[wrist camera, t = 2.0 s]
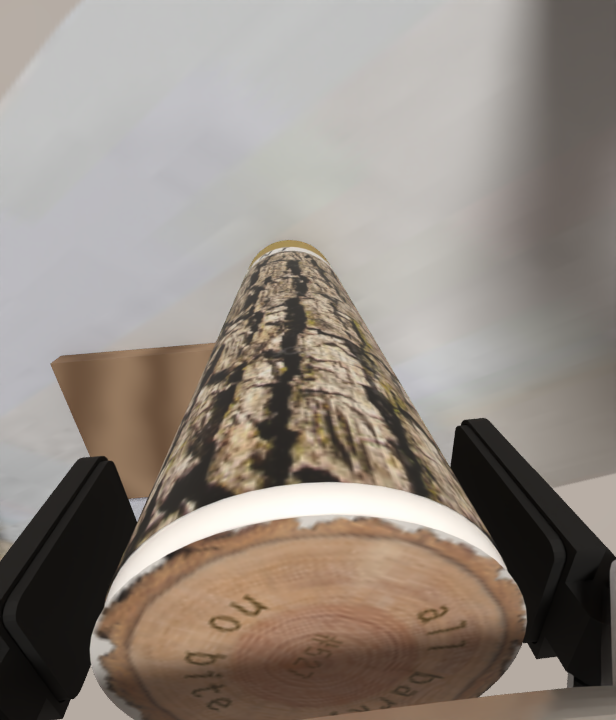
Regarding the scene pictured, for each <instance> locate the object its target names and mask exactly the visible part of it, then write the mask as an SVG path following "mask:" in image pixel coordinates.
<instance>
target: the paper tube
mask: <svg viewBox="0 0 616 720" xmlns="http://www.w3.org/2000/svg"><path fill="white" fill-rule="evenodd" d="M526 624H527V616H526V607H525V603H524V599H523V596H522V594H521V592H520V590H519V588H518V586H517V584H516V582H515V581H514V580H513V578H512V577H511V575H510V574H509V573H508V570H507V566H506V563H505V561H504V559H503V557H502V555H501V553H500V551H499V549H498V547H497V546H496V544H495V542H494V541H493V539H492V537H491V535H490V534H489V532H488V530H487V529H486V527H485V525H484V524H483V522H482V520H481V519H480V517H479V515H478V514H477V512H476V510H475V508H474V507H473V505H472V503H471V502H470V500H469V498H468V497H467V495H466V493H465V492H464V490H463V488H462V487H461V485H460V483H459V481H458V480H457V478H456V476H455V475H454V473H453V471H452V470H451V468H450V466H449V465H448V463H447V461H446V460H445V458H444V456H443V454H442V453H441V451H440V449H439V448H438V446H437V444H436V443H435V441H434V439H433V438H432V436H431V434H430V433H429V431H428V429H427V427H426V426H425V424H424V422H423V421H422V419H421V417H420V416H419V414H418V412H417V411H416V409H415V407H414V406H413V404H412V402H411V400H410V399H409V397H408V395H407V394H406V392H405V390H404V389H403V387H402V385H401V384H400V382H399V380H398V379H397V377H396V375H395V373H394V372H393V370H392V368H391V367H390V365H389V363H388V362H387V360H386V358H385V357H384V355H383V353H382V352H381V350H380V348H379V346H378V345H377V343H376V341H375V340H374V338H373V336H372V335H371V333H370V331H369V330H368V328H367V326H366V325H365V323H364V321H363V319H362V318H361V316H360V314H359V313H358V311H357V309H356V308H355V306H354V304H353V303H352V301H351V299H350V298H349V296H348V294H347V292H346V291H345V289H344V287H343V286H342V284H341V282H340V281H339V279H338V277H337V276H336V274H335V272H334V271H333V269H332V268H331V266H330V264H329V263H328V261H327V260H326V258H325V257H324V256H323V255H322V254H321V253H320V252H319V251H318V250H317V249H316V248H314V247H312V246H311V245H309V244H307V243H304V242H300V241H294V240H286V241H280V242H276V243H273V244H271V245H269V246H267V247H266V248H264V249H263V250H262V251H260V252H259V253H258V254H257V256H256V257H255V258H254V260H253V261H252V263H251V265H250V267H249V269H248V271H247V273H246V275H245V277H244V280H243V282H242V284H241V287H240V289H239V291H238V293H237V296H236V298H235V300H234V303H233V305H232V307H231V309H230V312H229V314H228V316H227V319H226V321H225V323H224V325H223V328H222V330H221V332H220V334H219V337H218V339H217V341H216V344H215V346H214V348H213V350H212V353H211V355H210V357H209V360H208V362H207V364H206V366H205V369H204V371H203V373H202V376H201V378H200V380H199V382H198V385H197V387H196V389H195V392H194V394H193V396H192V398H191V401H190V403H189V405H188V408H187V410H186V412H185V414H184V417H183V419H182V421H181V424H180V426H179V428H178V430H177V433H176V435H175V437H174V440H173V442H172V444H171V446H170V449H169V451H168V453H167V456H166V458H165V460H164V462H163V465H162V467H161V469H160V472H159V474H158V476H157V478H156V481H155V483H154V485H153V488H152V490H151V492H150V494H149V497H148V499H147V501H146V504H145V506H144V508H143V510H142V513H141V515H140V517H139V520H138V522H137V524H136V526H135V529H134V531H133V533H132V536H131V538H130V540H129V542H128V545H127V547H126V549H125V552H124V554H123V556H122V558H121V561H120V563H119V565H118V568H117V570H116V572H115V574H114V577H113V579H112V581H111V584H110V586H109V589H108V592H107V595H106V598H105V604H104V609H103V611H102V612H101V614H100V616H99V618H98V619H97V621H96V624H95V627H94V630H93V633H92V636H91V643H90V660H91V665H92V669H93V672H94V675H95V677H96V679H97V681H98V683H99V685H100V687H101V688H102V690H103V691H104V693H105V694H106V695H107V697H108V698H109V699H110V700H111V701H112V702H113V703H114V704H115V705H116V706H117V707H118V708H119V709H121V710H122V711H123V712H124V713H126V714H127V715H128V716H130V717H131V718H133V719H134V720H303V719H310V718H318V717H326V716H334V715H342V714H349V713H357V712H365V711H373V710H381V709H389V708H397V707H405V706H414V705H422V704H430V703H438V702H446V701H454V700H462V699H470V698H478V697H479V696H480V695H482V694H483V693H484V692H485V691H487V690H488V689H489V688H490V687H491V686H492V685H493V684H494V683H495V682H496V681H498V679H499V678H500V677H501V676H502V675H503V674H504V672H505V671H506V670H507V669H508V668H509V666H510V665H511V664H512V662H513V661H514V659H515V658H516V655H517V654H518V652H519V649H520V648H521V646H522V642H523V639H524V636H525V632H526Z"/></svg>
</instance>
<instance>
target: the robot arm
mask: <svg viewBox="0 0 616 720" xmlns="http://www.w3.org/2000/svg"><path fill="white" fill-rule="evenodd" d="M450 468H451V470H452V471H453V473H454V475H455V476H456V478H457V480H458V481H459V483H460V485H461V487H462V488H463V490H464V492H465V493H466V495H467V497H468V498H469V500H470V502H471V503H472V505H473V507H474V508H475V510H476V512H477V514H478V515H479V517H480V519H481V520H482V522H483V524H484V525H485V527H486V529H487V530H488V532H489V534H490V535H491V537H492V539H493V541H494V542H495V544H496V546H497V547H498V549H499V551H500V553H501V555H502V557H503V559H504V561H505V563H506V566H507V570H508V573H509V574H510V575H511V577H512V578H513V580H514V581H515V582H516V584H517V586H518V588H519V590H520V592H521V594H522V596H523V599H524V603H525V607H526V616H527V624H526V632H525V636H524V639H523V643H528V645H529V647H530V648H531V650H532V652H533V654H534V656H535V658H536V659H540V658H549V657H558V659H559V660H560V662H561V663H562V665H563V667H564V669H565V670H566V671H567V672H568V680H567V688H564V689H554V690H544V691H534V692H525V693H514V694H504V695H495V696H487V697H479V698H470V699H462V700H454V701H446V702H438V703H430V704H422V705H414V706H405V707H397V708H389V709H381V710H373V711H365V712H357V713H349V714H342V715H334V716H326V717H318V718H310V719H303V720H616V557H615V556H614V555H613V554H612V552H611V551H610V550H609V549H608V548H607V547H606V546H605V545H604V544H603V543H602V542H601V541H600V539H599V538H598V537H596V535H595V534H594V533H593V532H592V531H591V530H590V529H589V528H588V527H587V526H586V524H584V522H583V521H582V520H581V519H580V518H579V517H578V516H577V515H576V514H575V512H573V510H572V509H571V508H570V507H569V506H568V505H567V504H566V503H565V502H564V501H563V500H562V498H560V496H559V495H558V494H557V493H556V492H555V491H554V490H553V489H552V488H551V487H550V486H549V484H548V483H547V482H546V481H545V480H544V479H543V478H542V477H541V476H540V475H539V474H538V473H537V472H536V470H535V469H533V468H532V467H531V466H530V465H529V463H528V462H527V461H526V460H525V459H524V458H523V457H522V456H521V455H520V454H519V453H518V452H517V450H516V449H515V448H514V447H513V446H512V445H511V444H510V443H509V442H508V441H507V440H506V439H505V438H504V436H503V435H502V434H501V433H500V432H499V431H498V430H497V429H496V428H495V427H494V426H493V425H492V424H491V422H490V421H489V420H487V419H486V418H479V419H469V420H464V421H463V422H462V423H461V426H457V427H456V430H455V437H454V444H453V452H452V459H451V467H450ZM136 524H137V521H136V518H135V516H134V513H133V510H132V508H131V505H130V502H129V500H128V497H127V494H126V492H125V489H124V487H123V484H122V481H121V479H120V476H119V473H118V471H117V468H116V466H115V464H114V462H113V461H109V460H108V459H107V458H106V457H105V456H96V457H86V458H80V459H78V460H77V461H76V463H75V464H74V465H73V467H72V468H71V469H70V470H69V472H68V473H67V474H66V476H65V477H64V478H63V480H62V481H61V482H60V484H59V485H58V486H57V488H56V489H55V490H54V491H53V493H52V494H51V495H50V497H49V498H48V499H47V501H46V502H45V503H44V505H43V506H42V507H41V509H40V510H39V511H38V512H37V514H36V515H35V516H34V518H33V519H32V520H31V522H30V523H29V524H28V526H27V527H26V528H25V530H24V531H23V532H22V533H21V535H20V536H19V537H18V539H17V540H16V541H15V543H14V544H13V545H12V547H11V548H10V549H9V551H8V552H7V553H6V554H5V556H4V557H3V558H2V560H1V561H0V720H57V719H63V717H64V714H65V712H66V709H67V707H68V705H69V702H70V700H71V699H74V698H75V697H76V696H77V695H78V694H79V692H80V690H81V688H82V686H83V683H84V681H85V678H86V676H87V673H88V671H89V668H90V666H91V660H90V643H91V636H92V633H93V630H94V627H95V624H96V621H97V619H98V618H99V616H100V614H101V612H102V611H103V609H104V604H105V598H106V595H107V592H108V589H109V586H110V584H111V581H112V579H113V577H114V574H115V572H116V570H117V568H118V565H119V563H120V561H121V558H122V556H123V554H124V552H125V549H126V547H127V545H128V542H129V540H130V538H131V536H132V533H133V531H134V529H135V526H136Z"/></svg>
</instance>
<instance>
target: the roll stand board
mask: <svg viewBox="0 0 616 720" xmlns="http://www.w3.org/2000/svg"><path fill="white" fill-rule="evenodd" d="M215 344H216V343H209V344H197V345H185V346H173V347H161V348H149V349H137V350H125V351H113V352H101V353H89V354H77V355H65V356H60V357H59V358H58V359H56V360H55V361H54V362H52V363H51V367H52V369H53V371H54V374H55V376H56V378H57V381H58V383H59V385H60V388H61V390H62V392H63V395H64V397H65V399H66V401H67V404H68V406H69V408H70V411H71V413H72V415H73V418H74V420H75V422H76V425H77V427H78V429H79V432H80V434H81V436H82V439H83V441H84V443H85V446H86V448H87V450H88V453H89V455H90V457H96V456H105V457H106V458H107V459H108V460H109V461H113V462H114V464H115V466H116V468H117V471H118V473H119V476H120V479H121V481H122V484H123V487H124V489H125V492H126V494H127V497H128V499H131V498H141V497H149V494H150V492H151V490H152V488H153V485H154V483H155V481H156V478H157V476H158V474H159V472H160V469H161V467H162V465H163V462H164V460H165V458H166V456H167V453H168V451H169V449H170V446H171V444H172V442H173V440H174V437H175V435H176V433H177V430H178V428H179V426H180V424H181V421H182V419H183V417H184V414H185V412H186V410H187V408H188V405H189V403H190V401H191V398H192V396H193V394H194V392H195V389H196V387H197V385H198V382H199V380H200V378H201V376H202V373H203V371H204V369H205V366H206V364H207V362H208V360H209V357H210V355H211V353H212V350H213V348H214V346H215Z"/></svg>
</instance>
